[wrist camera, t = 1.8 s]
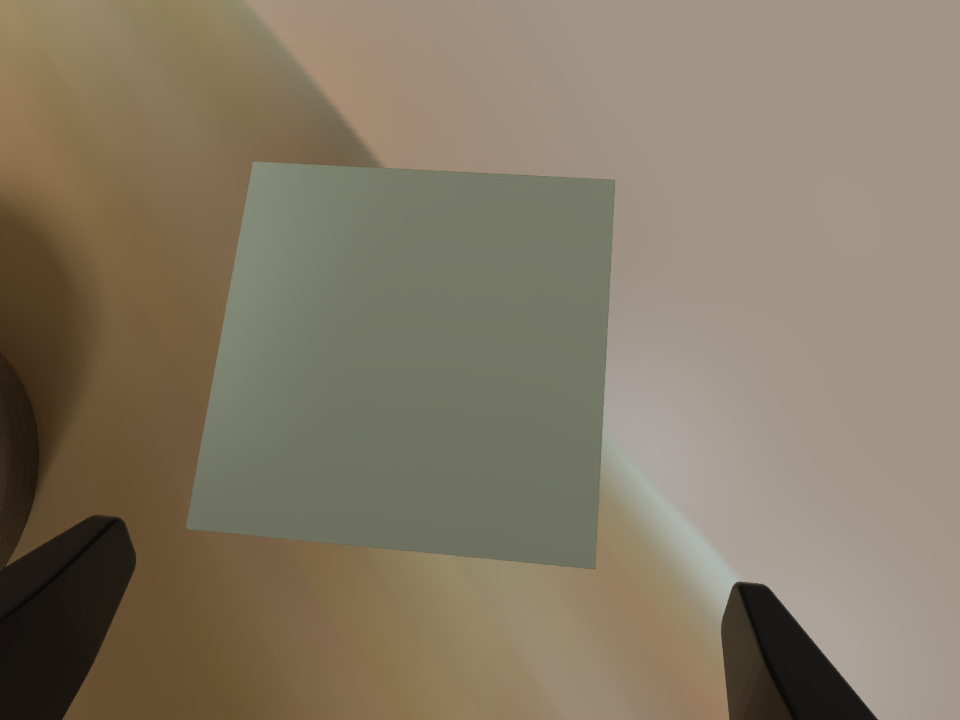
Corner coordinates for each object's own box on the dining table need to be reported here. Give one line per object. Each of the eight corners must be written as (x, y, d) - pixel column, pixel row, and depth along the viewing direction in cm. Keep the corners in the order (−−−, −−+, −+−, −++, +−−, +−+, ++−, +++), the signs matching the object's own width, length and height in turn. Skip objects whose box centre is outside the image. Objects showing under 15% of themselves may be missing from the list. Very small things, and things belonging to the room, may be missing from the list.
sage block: (554, 544, 20) (594, 569, 8) (382, 527, 20) (184, 529, 8) (565, 373, 21) (615, 179, 9) (402, 361, 21) (253, 161, 10)
